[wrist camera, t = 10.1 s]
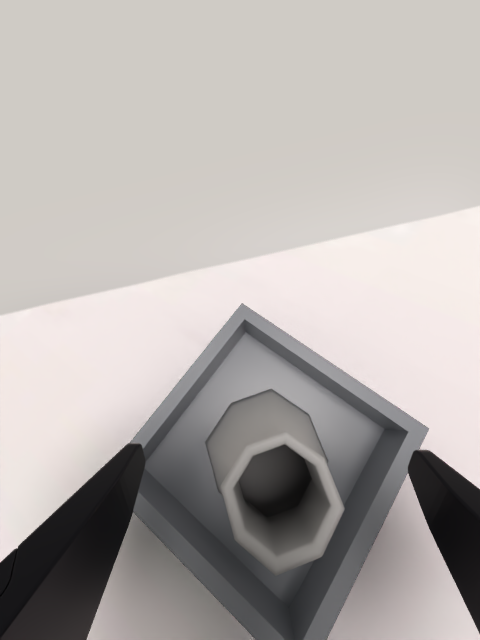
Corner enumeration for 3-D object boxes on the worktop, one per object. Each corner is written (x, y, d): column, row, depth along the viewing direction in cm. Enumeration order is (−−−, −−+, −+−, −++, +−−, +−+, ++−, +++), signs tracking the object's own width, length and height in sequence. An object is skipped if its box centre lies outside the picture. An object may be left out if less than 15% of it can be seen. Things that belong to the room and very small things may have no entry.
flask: (348, 464, 16) (483, 533, 7) (255, 550, 15) (260, 784, 5) (273, 370, 18) (294, 322, 9) (186, 438, 17) (104, 467, 8)
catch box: (291, 625, 14) (302, 688, 11) (129, 466, 17) (101, 478, 14) (395, 426, 17) (429, 428, 14) (243, 321, 20) (242, 303, 17)
